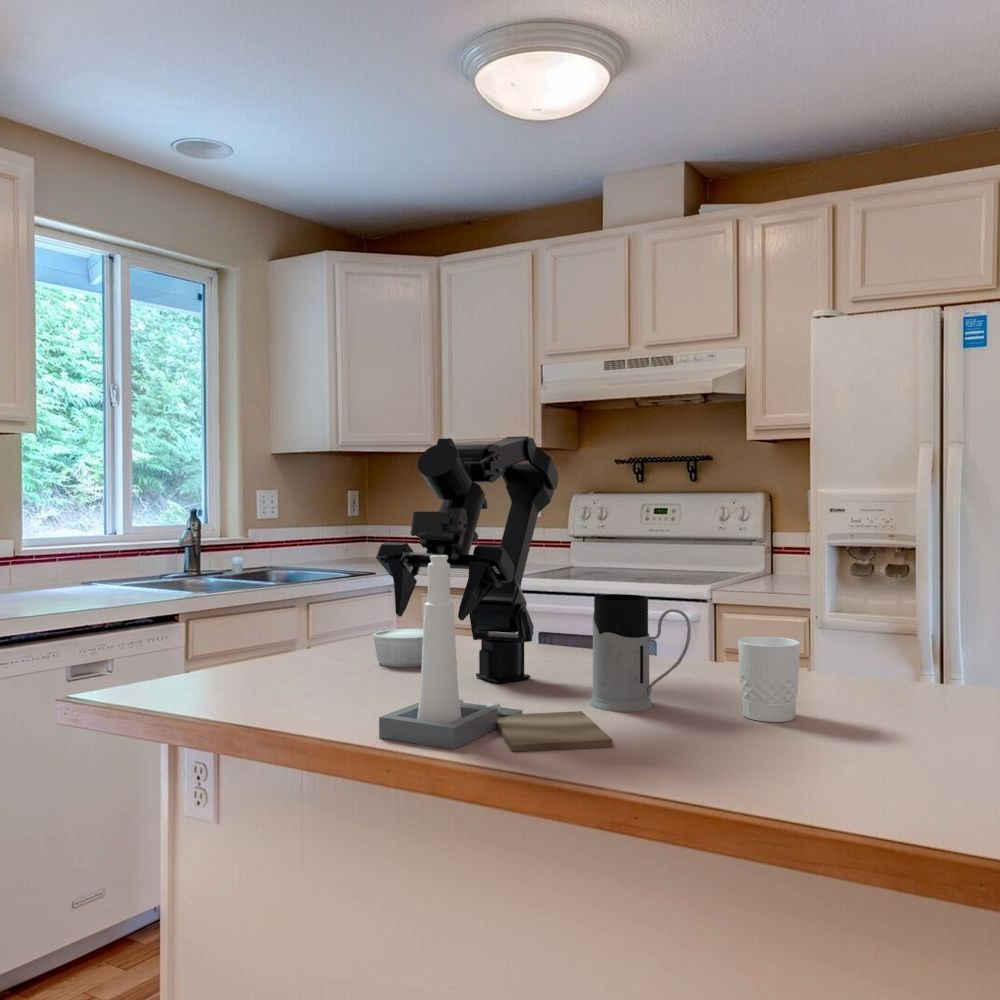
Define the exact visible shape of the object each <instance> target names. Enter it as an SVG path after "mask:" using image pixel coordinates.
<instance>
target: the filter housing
mask: <svg viewBox="0 0 1000 1000" xmlns="http://www.w3.org/2000/svg"><path fill="white" fill-rule="evenodd" d="M459 702H460V710H461V717H462V718H461V719H459V720H456V721H454V722H452V723H443V722H436V721H429V720H422V719H417V716H418V708H419V701H418V702H415V703H413V704H411V705H408V706H405V707H403V708H400V709H397V710H394V711H392V712H389V713H387V714H383V715H382V716H379V717H378V728H379V729H378V738H379V739H385V740H392V741H397V742H405V743H413V744H417V745H423V746H431V747H436V748H443V749H451V750H456V749H457V748H460V747H462V746H464V745H466V744H468V743H470V742H472V741H474V740H476V739H478V738H480V737H483V736H485V735H486V734H487V735H488V734H489V733H491V732H492V731H494V730H496V729H497V722H498V721H497V715H508V714H510V715H512V714H523V709H517V708H512V707H511V708H510V707H502V706H501V704H500V703H498V702H488V703H486V704H485V705H484V704H480V703H479V704H477V703H470V702H464V699H463V698H460V697H459ZM510 715H508V717H509V716H510ZM504 718H505V717H504V716H503V719H504ZM506 718H507V717H506ZM499 720H500V716H499ZM497 730H498V729H497Z"/></svg>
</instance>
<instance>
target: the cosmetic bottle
mask: <svg viewBox="0 0 1000 1000" xmlns="http://www.w3.org/2000/svg"><path fill="white" fill-rule="evenodd" d="M447 559H448V556H446V555H431V556H430V560H431V563H429V564H428V567H427V602H425V603H424V609H423V624H422V625H423V626H422V629H423V644H422V666H421V672H420V686H419V687H420V689H419V700H418V702H419V708H418V716H417V719H422V720H429V721H436V722H443V723H452V722H454V721H456V720H459V719H461V718H462V717H461V710H460V702H459V698H460V697H459V695H460V693H459V680H458V679H459V678H458V661H457V660H458V659H457V646H456V645H457V643H456V641H457V640H456V622H455V606H454V602H451V568H450V564H449V563H447Z"/></svg>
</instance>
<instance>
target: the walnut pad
mask: <svg viewBox="0 0 1000 1000" xmlns="http://www.w3.org/2000/svg"><path fill="white" fill-rule="evenodd" d="M508 715H510V714H508ZM508 715H497V721H498V722H497V732H499V734H500V736H501V737H502V739H503V741H504V742H505V744H506V745H507V747H508V748H509V750H510V751H511V752H512V753H514V752H531V751H532V752H534V751H535V752H537V751H553V750H554V751H556V750H572V749H573V750H574V749H592V748H593V749H594V748H609V747H614V746H613V745H614V744H613V743H614V741H613V739H612V738H611V736H609V735H608V734H607V733H606V732H605V731H604V730H603V729H601V727H600V726H599V725H597V724H596V723H595V722H594V721H593V720H592V719H591V718H590V717H589V716H588V715H586V714H585V713H584V712H583V711H582V710H581V711H579V710H577V711H560V712H559V711H558V712H557V711H555V712H537V713H536V712H534V713H531V712H530V713H522V714H512V715H510V716H509V717H508ZM499 716H500V720H499ZM503 716H504V717H505V718H504V719H503ZM506 717H507V718H506Z"/></svg>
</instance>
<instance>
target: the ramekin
mask: <svg viewBox="0 0 1000 1000" xmlns="http://www.w3.org/2000/svg"><path fill="white" fill-rule="evenodd" d="M372 638H373V639H372V640H373V641H374V646H375V647H374V648H375V653H376V654H375V655H376V658H377V662H378V663H379V664H380V665H382V666H384V667H391V668H414V667H422V644H423V628H398V629H395V628H394V629H387V630H380V631H376V632H374V633H373V635H372Z"/></svg>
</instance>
